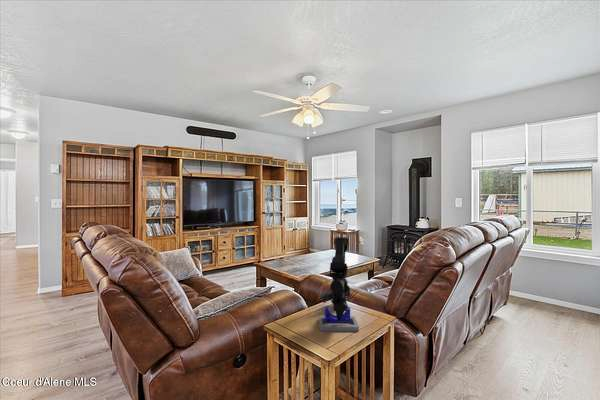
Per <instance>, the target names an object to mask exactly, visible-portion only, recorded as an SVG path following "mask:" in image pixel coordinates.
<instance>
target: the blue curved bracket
mask: <svg viewBox="0 0 600 400" xmlns="http://www.w3.org/2000/svg"><path fill="white" fill-rule="evenodd" d="M350 307H351V306H348V307H347V311H344V313H343V315H342V317H341V319H340V321H341V322H340V323H351V322H350V316H351V308H350ZM324 309H325V310H324V316H325V322H324V323H329V324H331V323H332V324H335V323H336V324H339V322H338V320H337V316H336V314H332V313H331V311H330V310H329V309H330V308H329V306H327V305H326V306H325V307H324Z"/></svg>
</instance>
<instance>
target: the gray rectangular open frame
mask: <svg viewBox="0 0 600 400" xmlns="http://www.w3.org/2000/svg"><path fill="white" fill-rule="evenodd" d="M318 322H319V324H318V325H319V332H360V327H359V324H358V322H357V319H356V317H355V315H353V316H352V315H350V322H349V323H352V324H339V323H342V322H341V321H338V323H336V324H335V323H332V324H331V323H329V324H327V323H326V322H325V315H318ZM324 323H325V324H324Z"/></svg>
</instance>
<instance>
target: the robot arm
mask: <svg viewBox="0 0 600 400" xmlns="http://www.w3.org/2000/svg"><path fill="white" fill-rule="evenodd" d="M333 245H334V248H335V251H334V252H335V253H334V256H333V257H332V259H331V262H330V264H329V277H332V278H331V279H332V280H331V283H330V285H329V288H330V290H327V291H324V292H322V293H320V298H321V300H322V303H327V302H331V303H332V308H333V309H332V310H333V311H334V312H335V315H336V316H337V320H338V321H340V319H341V317H342V315H343V314H344V313H345V311H347V307H349V305H348V303H347V301H348V300H347V297H349V296H351V287H350V285H349V284H348V280H347V278H346V277H347V276H348V264H347V263H346V252H347V250H348V247H349V246H350V238H348V237H347V236H336V237H333Z"/></svg>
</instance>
